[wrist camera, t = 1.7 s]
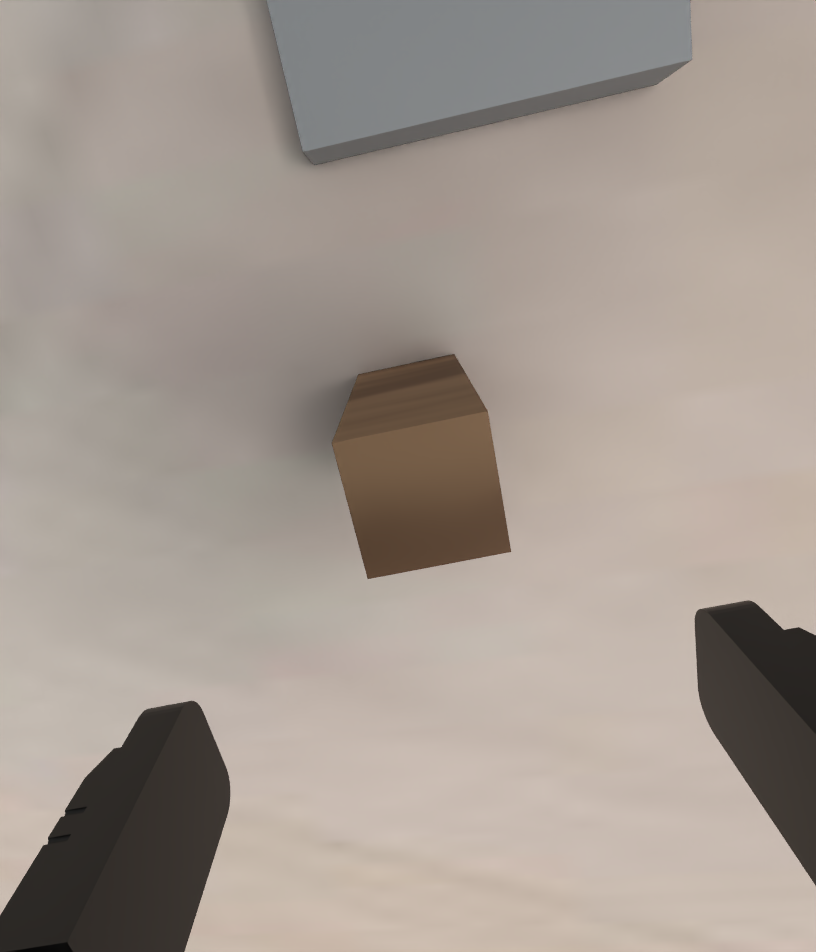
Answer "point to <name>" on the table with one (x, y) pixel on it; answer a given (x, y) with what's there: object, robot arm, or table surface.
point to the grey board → (461, 62)
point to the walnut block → (420, 468)
